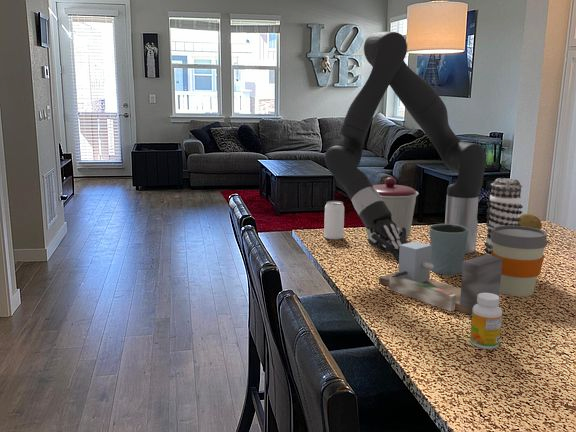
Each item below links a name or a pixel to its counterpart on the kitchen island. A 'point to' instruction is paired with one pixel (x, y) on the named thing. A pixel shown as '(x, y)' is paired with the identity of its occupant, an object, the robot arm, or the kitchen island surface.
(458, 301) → the track
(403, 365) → the kitchen island surface
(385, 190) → the canister
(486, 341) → the supplement bottle
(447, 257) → the teal gray cup
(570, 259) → the kitchen island surface
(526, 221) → the potato
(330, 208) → the can
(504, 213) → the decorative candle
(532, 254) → the reusable coffee cup
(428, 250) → the block
